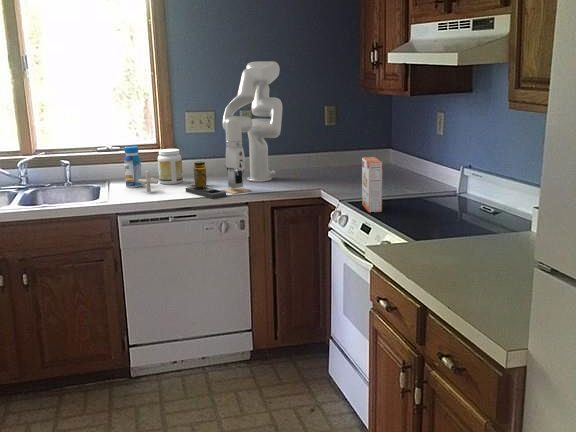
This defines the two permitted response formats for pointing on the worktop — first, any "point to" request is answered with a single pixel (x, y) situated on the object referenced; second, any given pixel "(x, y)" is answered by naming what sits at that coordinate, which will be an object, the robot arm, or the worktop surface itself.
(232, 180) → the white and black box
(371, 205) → the cracker box
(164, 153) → the supplement tub
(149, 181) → the pipe connector
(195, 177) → the condiment
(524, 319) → the worktop surface
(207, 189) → the rack rail
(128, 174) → the beverage bottle
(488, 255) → the worktop surface
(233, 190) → the oak coaster
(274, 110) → the robot arm
